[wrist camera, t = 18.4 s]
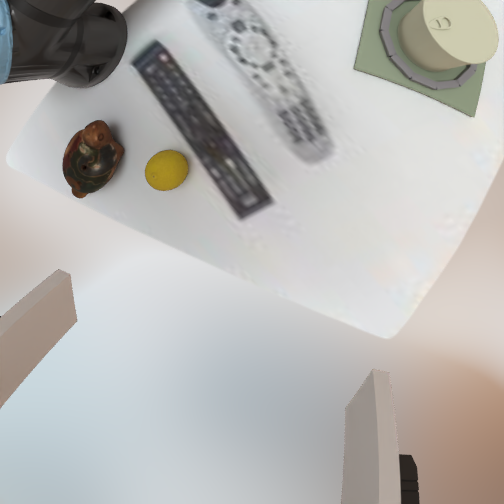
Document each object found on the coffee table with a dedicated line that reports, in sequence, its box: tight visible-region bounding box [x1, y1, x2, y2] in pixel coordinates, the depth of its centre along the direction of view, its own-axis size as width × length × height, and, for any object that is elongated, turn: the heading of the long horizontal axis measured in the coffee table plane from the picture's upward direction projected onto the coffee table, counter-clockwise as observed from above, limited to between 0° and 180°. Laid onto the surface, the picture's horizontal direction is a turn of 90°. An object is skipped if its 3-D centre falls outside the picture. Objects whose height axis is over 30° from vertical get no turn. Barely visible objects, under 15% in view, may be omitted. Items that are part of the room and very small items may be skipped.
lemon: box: [145, 150, 188, 191], centre depth 42 cm, size 6×6×8 cm
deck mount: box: [354, 0, 486, 117], centre depth 29 cm, size 18×16×2 cm
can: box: [398, 0, 499, 72], centre depth 24 cm, size 9×9×12 cm
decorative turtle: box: [63, 120, 124, 198], centre depth 44 cm, size 10×15×8 cm, turn 148°
